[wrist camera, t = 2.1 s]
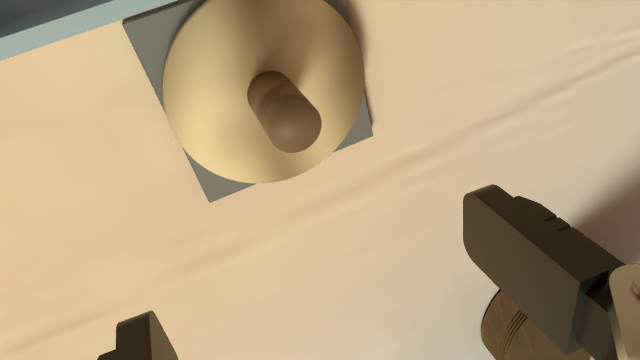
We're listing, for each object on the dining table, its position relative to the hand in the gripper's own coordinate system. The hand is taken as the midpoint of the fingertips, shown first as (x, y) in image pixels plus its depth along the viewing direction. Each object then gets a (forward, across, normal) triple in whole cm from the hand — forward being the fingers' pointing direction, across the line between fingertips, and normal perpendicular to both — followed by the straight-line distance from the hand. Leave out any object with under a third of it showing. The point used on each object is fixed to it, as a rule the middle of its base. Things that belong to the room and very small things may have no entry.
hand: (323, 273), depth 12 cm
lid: (+18, -3, +2) cm, 19 cm away
